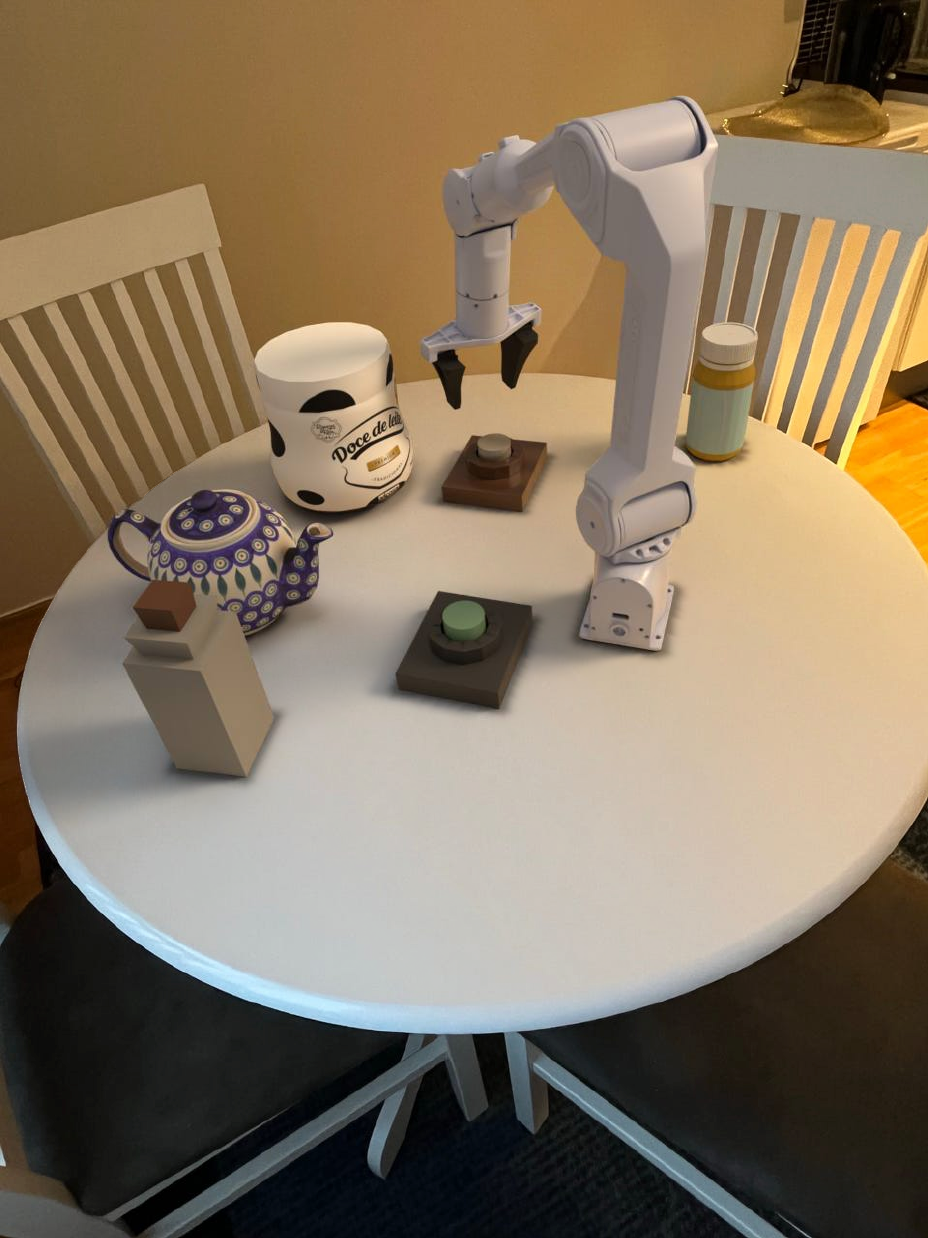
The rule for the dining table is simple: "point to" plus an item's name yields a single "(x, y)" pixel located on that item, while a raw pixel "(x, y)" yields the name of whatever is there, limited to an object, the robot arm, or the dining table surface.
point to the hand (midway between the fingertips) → (481, 394)
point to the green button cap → (464, 621)
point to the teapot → (228, 553)
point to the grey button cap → (494, 447)
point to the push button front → (466, 653)
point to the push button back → (495, 476)
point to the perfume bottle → (197, 679)
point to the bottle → (721, 391)
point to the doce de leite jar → (334, 416)
